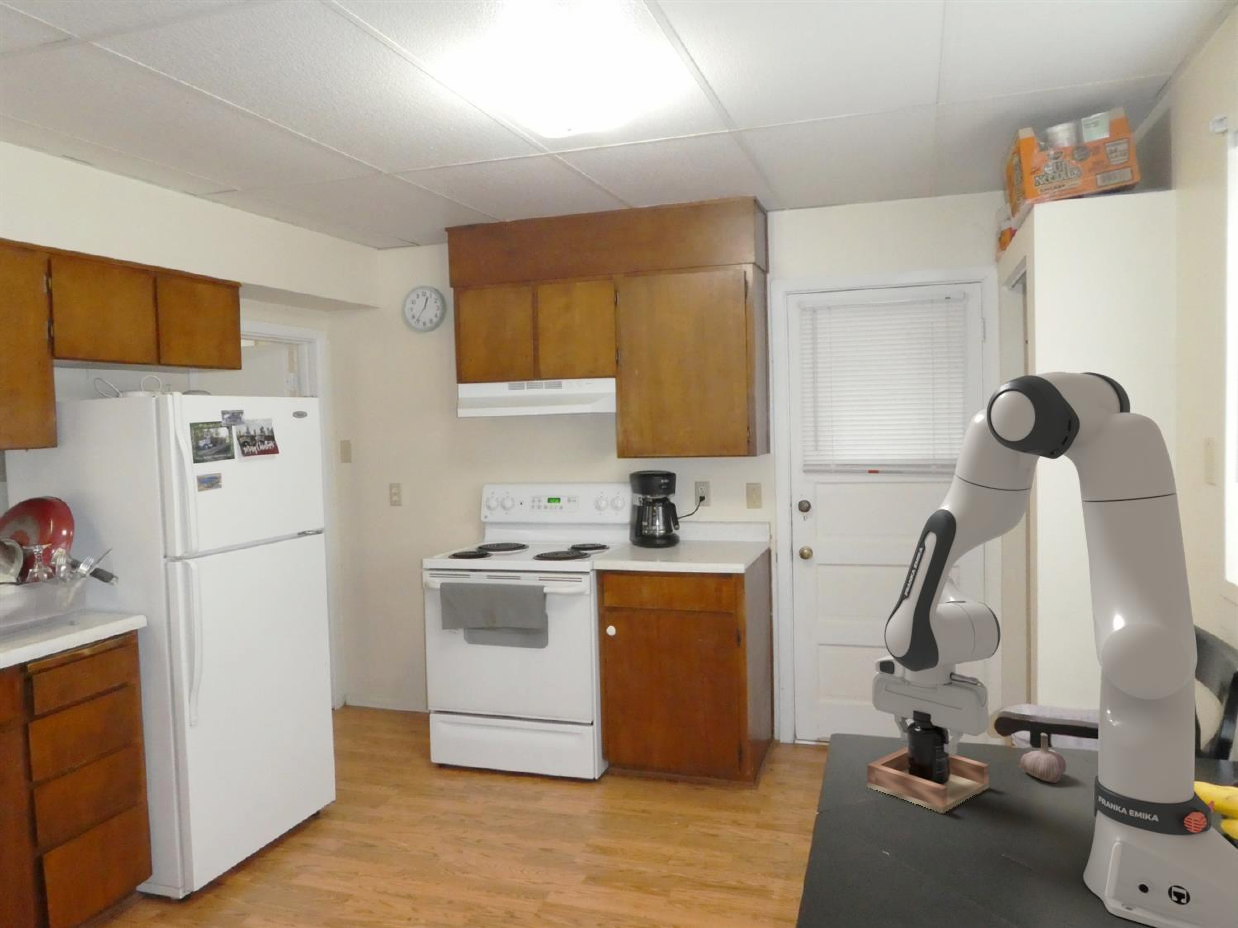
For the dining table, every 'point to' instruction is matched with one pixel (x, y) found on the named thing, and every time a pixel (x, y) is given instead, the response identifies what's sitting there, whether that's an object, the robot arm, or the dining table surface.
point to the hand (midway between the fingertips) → (928, 747)
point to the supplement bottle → (927, 749)
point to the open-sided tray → (897, 782)
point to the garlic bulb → (1044, 762)
